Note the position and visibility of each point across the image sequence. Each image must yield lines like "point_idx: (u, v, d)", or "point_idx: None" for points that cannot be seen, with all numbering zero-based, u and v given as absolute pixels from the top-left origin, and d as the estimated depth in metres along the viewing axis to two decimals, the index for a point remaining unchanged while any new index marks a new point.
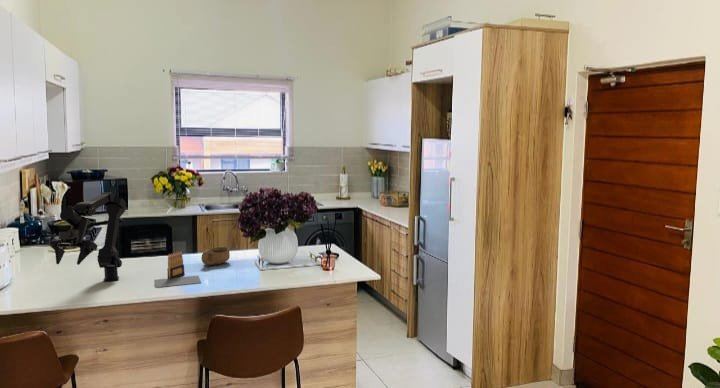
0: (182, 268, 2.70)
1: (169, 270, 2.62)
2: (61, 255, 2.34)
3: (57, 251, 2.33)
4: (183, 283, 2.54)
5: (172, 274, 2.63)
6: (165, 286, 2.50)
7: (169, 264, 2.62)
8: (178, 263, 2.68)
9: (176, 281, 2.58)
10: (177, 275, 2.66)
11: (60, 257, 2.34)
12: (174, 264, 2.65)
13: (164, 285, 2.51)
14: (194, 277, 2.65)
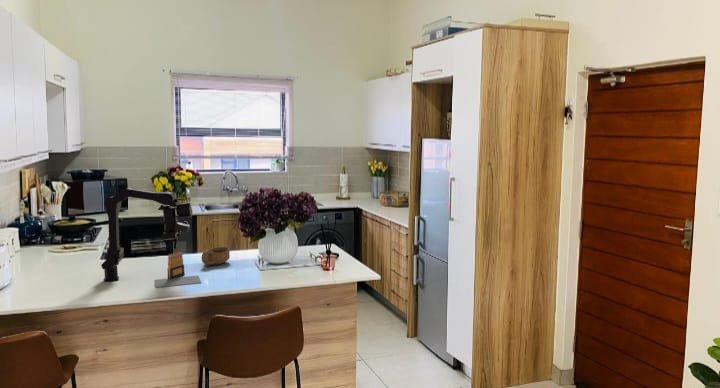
0: (182, 268, 2.70)
1: (169, 270, 2.62)
2: None
3: (173, 241, 2.60)
4: (183, 283, 2.54)
5: (172, 274, 2.63)
6: (165, 286, 2.50)
7: (169, 264, 2.62)
8: None
9: (176, 281, 2.58)
10: (177, 275, 2.66)
11: None
12: (174, 264, 2.65)
13: (164, 285, 2.51)
14: (194, 277, 2.65)
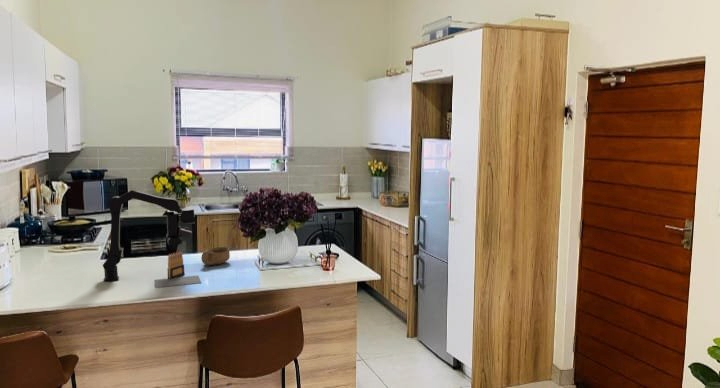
0: (182, 268, 2.70)
1: (169, 270, 2.62)
2: None
3: None
4: (183, 283, 2.54)
5: (172, 274, 2.63)
6: (165, 286, 2.50)
7: (169, 264, 2.62)
8: None
9: (176, 281, 2.58)
10: (177, 275, 2.66)
11: None
12: (174, 264, 2.65)
13: (164, 285, 2.51)
14: (194, 277, 2.65)
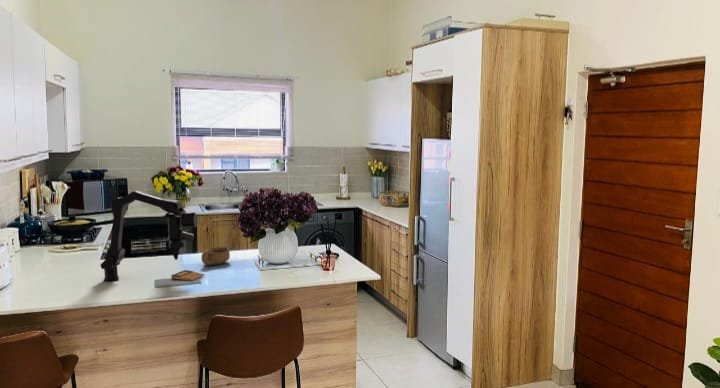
0: None
1: (178, 278, 2.60)
2: None
3: None
4: (183, 283, 2.54)
5: None
6: (165, 286, 2.50)
7: (184, 279, 2.60)
8: None
9: (176, 281, 2.58)
10: None
11: None
12: None
13: (164, 285, 2.51)
14: None
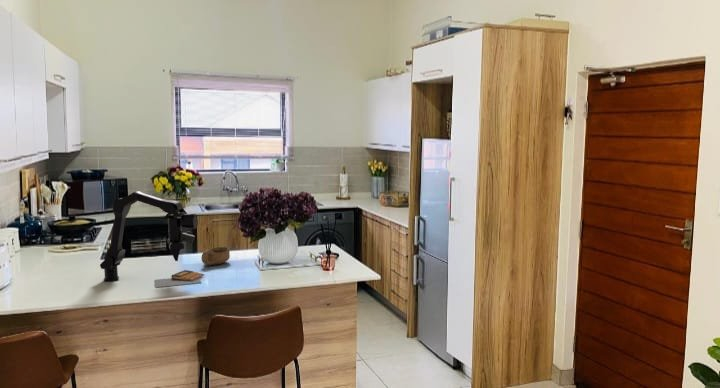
0: None
1: (178, 278, 2.60)
2: None
3: None
4: (183, 283, 2.54)
5: None
6: (165, 286, 2.50)
7: (184, 279, 2.60)
8: None
9: (176, 281, 2.58)
10: None
11: None
12: None
13: (164, 285, 2.51)
14: None
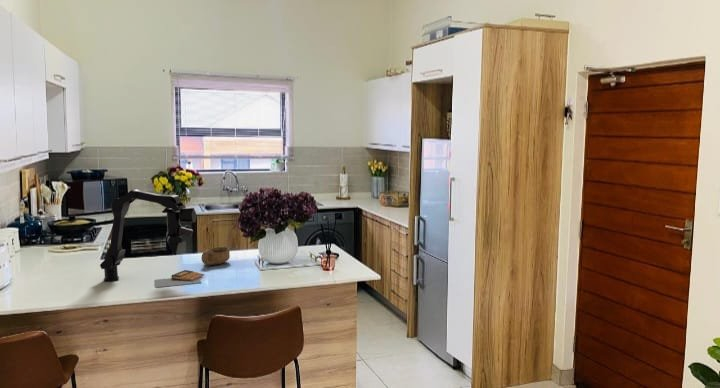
0: None
1: (178, 278, 2.60)
2: None
3: None
4: (183, 283, 2.54)
5: None
6: (165, 286, 2.50)
7: (184, 279, 2.60)
8: None
9: (176, 281, 2.58)
10: None
11: None
12: None
13: (164, 285, 2.51)
14: None
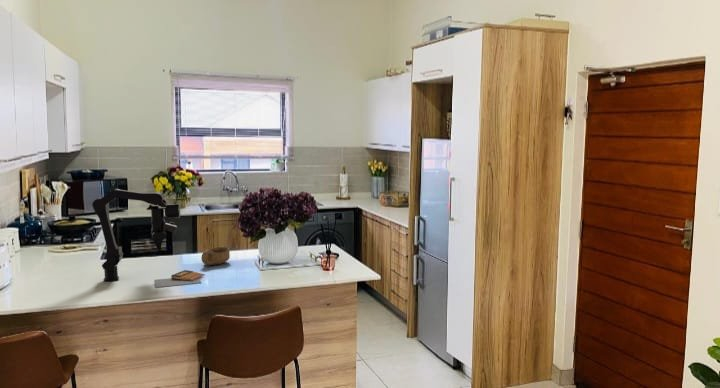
0: None
1: (178, 278, 2.60)
2: None
3: None
4: (183, 283, 2.54)
5: None
6: (165, 286, 2.50)
7: (184, 279, 2.60)
8: None
9: (176, 281, 2.58)
10: None
11: None
12: None
13: (164, 285, 2.51)
14: None
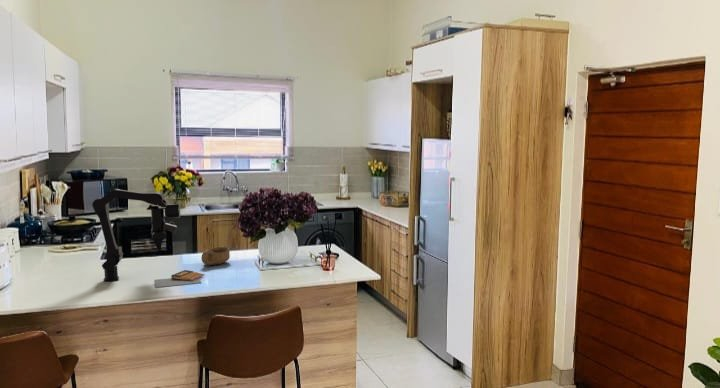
0: None
1: (178, 278, 2.60)
2: None
3: None
4: (183, 283, 2.54)
5: None
6: (165, 286, 2.50)
7: (184, 279, 2.60)
8: None
9: (176, 281, 2.58)
10: None
11: None
12: None
13: (164, 285, 2.51)
14: None
